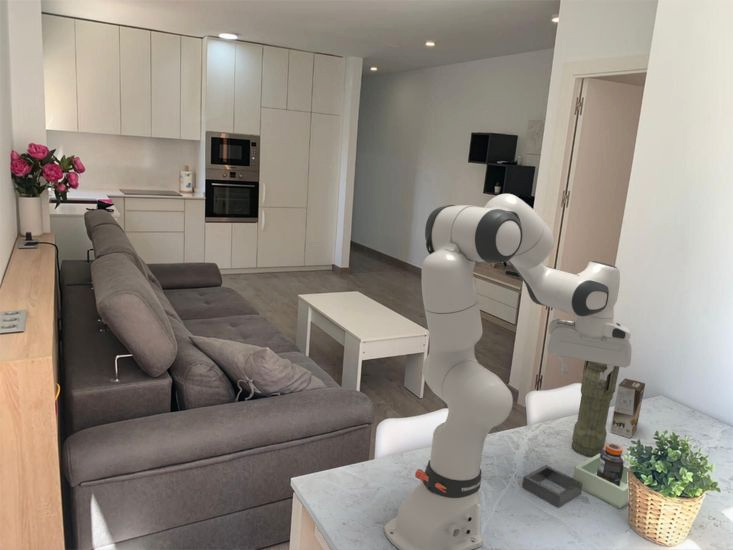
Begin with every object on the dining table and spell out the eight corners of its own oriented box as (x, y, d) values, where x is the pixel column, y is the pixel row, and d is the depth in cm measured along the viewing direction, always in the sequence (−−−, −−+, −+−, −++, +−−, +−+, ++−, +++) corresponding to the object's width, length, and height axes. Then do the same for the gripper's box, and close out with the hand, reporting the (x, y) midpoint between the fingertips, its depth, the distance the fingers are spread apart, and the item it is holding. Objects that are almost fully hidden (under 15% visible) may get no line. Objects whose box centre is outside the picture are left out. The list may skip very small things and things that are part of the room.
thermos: (591, 462, 163) (611, 345, 156) (561, 442, 174) (579, 331, 166) (613, 457, 167) (634, 342, 160) (583, 438, 177) (601, 330, 170)
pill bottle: (623, 487, 150) (631, 447, 148) (613, 495, 146) (621, 454, 144) (601, 477, 154) (608, 438, 152) (591, 484, 150) (598, 444, 148)
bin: (620, 509, 141) (623, 490, 140) (572, 484, 151) (574, 467, 150) (643, 492, 150) (647, 475, 149) (596, 469, 159) (599, 453, 158)
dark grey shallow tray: (558, 507, 140) (560, 496, 139) (522, 487, 147) (523, 476, 147) (580, 493, 147) (582, 483, 146) (544, 475, 154) (546, 464, 154)
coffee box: (631, 439, 180) (640, 391, 176) (609, 432, 183) (618, 385, 180) (637, 429, 187) (645, 383, 184) (616, 422, 191) (624, 377, 187)
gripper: (550, 320, 146) (541, 371, 149) (637, 335, 140) (626, 388, 143) (550, 314, 152) (541, 364, 155) (633, 328, 146) (623, 380, 149)
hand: (583, 376), depth 149 cm, fingers open, 8 cm apart
